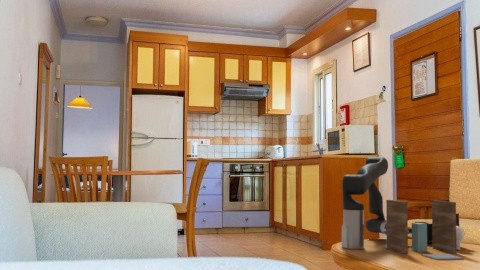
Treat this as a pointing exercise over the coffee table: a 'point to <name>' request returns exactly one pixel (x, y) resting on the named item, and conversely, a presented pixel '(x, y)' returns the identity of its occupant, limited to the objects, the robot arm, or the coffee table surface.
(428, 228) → the pen holder
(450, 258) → the slate mat
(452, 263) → the coffee table surface
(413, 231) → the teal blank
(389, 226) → the wooden divider stand
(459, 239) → the lightbulb
